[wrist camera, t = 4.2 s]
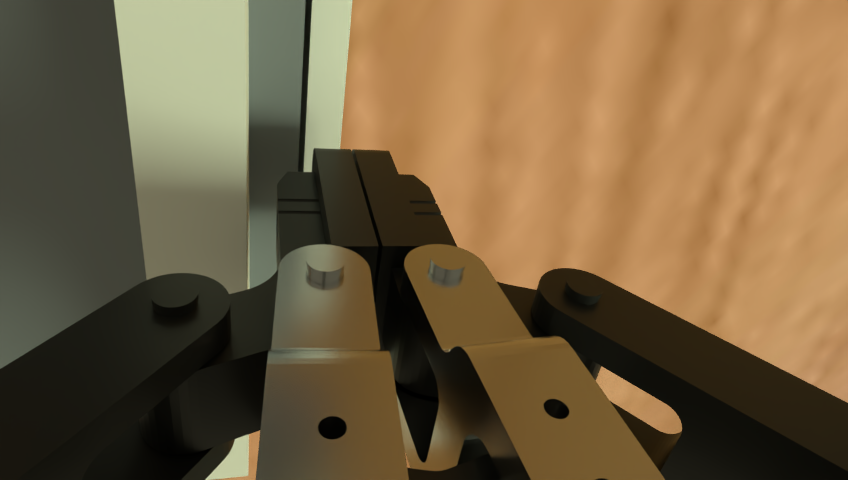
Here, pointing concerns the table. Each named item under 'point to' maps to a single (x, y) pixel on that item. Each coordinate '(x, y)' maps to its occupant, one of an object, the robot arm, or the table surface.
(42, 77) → the lid
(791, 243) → the table surface
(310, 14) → the box
